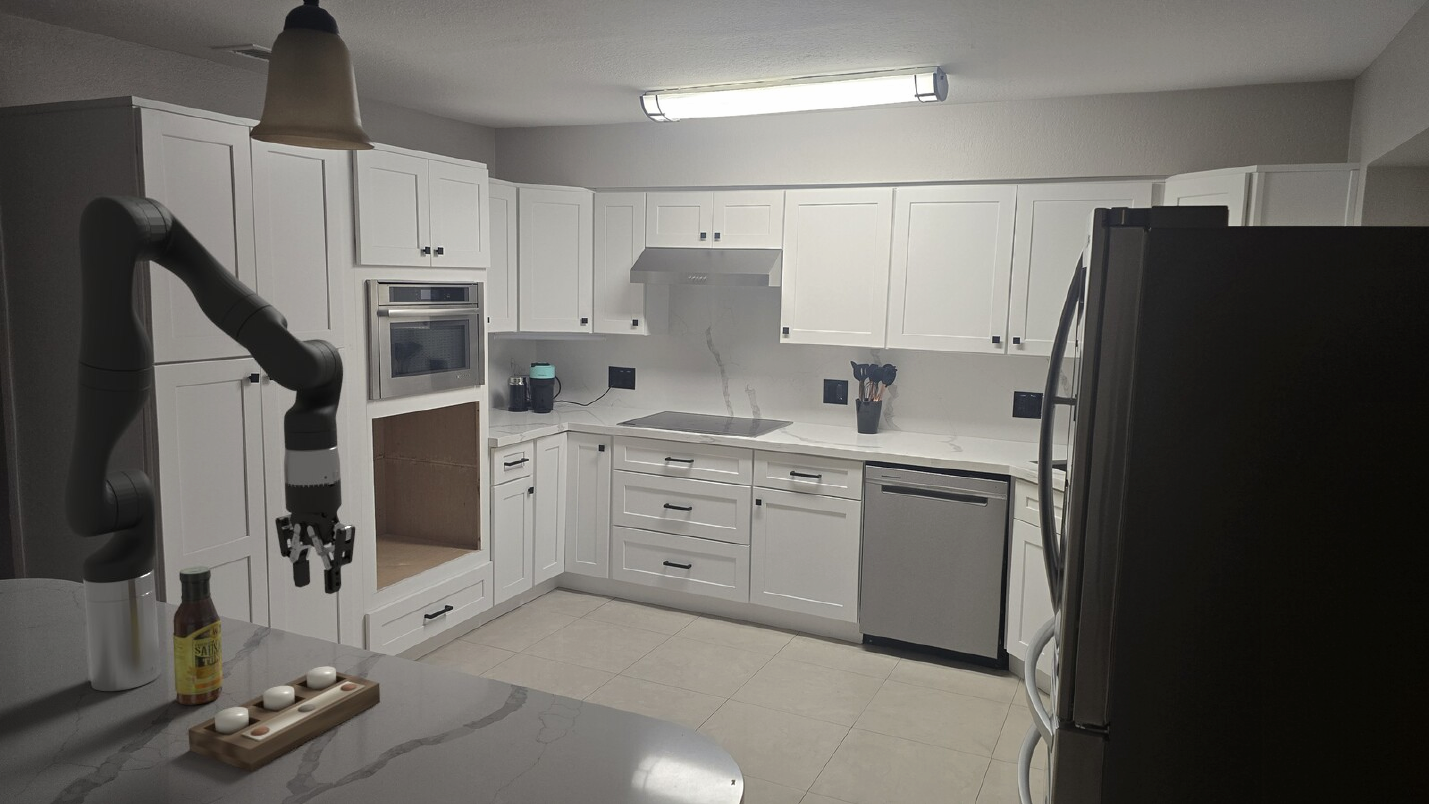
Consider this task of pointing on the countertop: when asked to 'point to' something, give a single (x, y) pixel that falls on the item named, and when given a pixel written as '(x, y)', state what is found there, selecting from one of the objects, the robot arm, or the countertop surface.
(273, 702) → the button
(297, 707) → the button panel
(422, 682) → the countertop surface
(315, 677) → the button
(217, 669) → the sauce bottle
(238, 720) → the button
